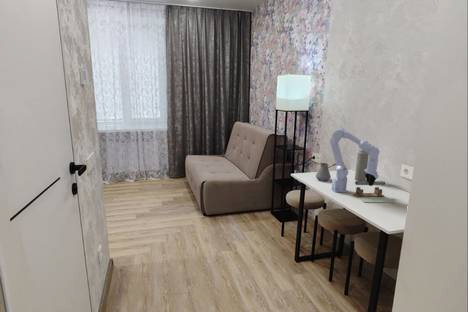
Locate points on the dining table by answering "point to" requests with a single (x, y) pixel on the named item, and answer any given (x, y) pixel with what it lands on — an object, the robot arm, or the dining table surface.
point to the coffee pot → (324, 172)
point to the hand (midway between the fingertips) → (369, 184)
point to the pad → (376, 200)
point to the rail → (368, 183)
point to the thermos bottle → (361, 165)
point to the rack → (360, 193)
